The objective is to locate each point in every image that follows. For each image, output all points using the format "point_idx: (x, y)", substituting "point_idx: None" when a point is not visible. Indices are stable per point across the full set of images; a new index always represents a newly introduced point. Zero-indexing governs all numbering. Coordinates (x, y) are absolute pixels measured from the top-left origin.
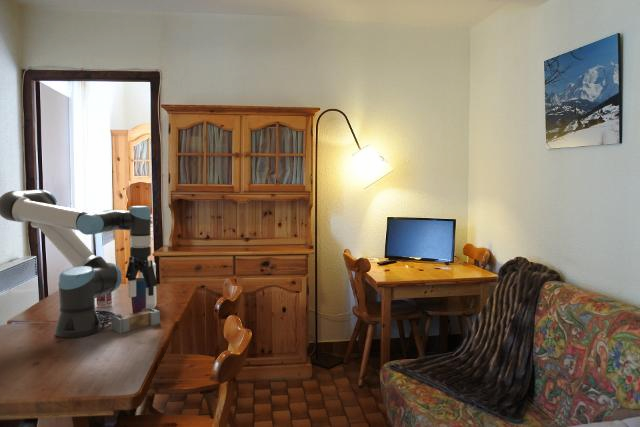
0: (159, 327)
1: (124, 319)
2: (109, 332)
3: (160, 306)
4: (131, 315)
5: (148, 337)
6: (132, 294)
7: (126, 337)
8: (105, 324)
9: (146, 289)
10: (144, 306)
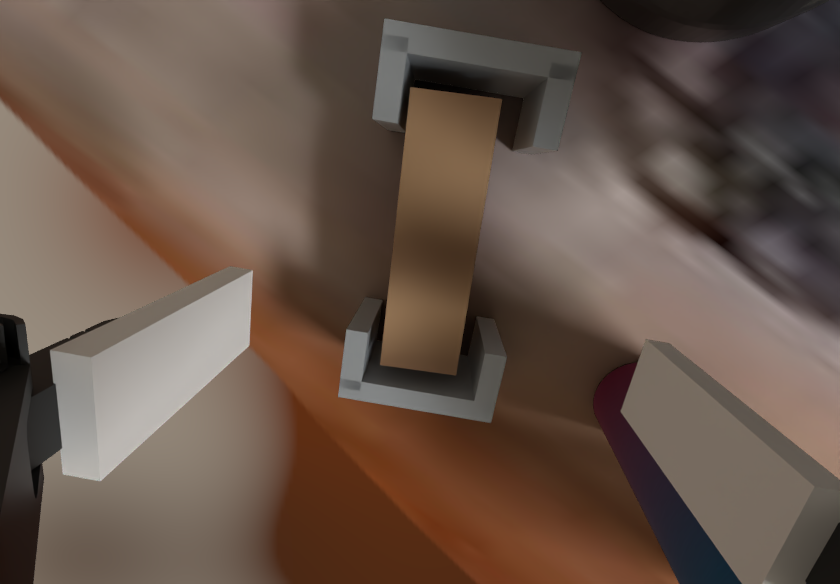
0: (292, 301)
1: (379, 70)
2: (481, 9)
3: (658, 578)
4: (437, 193)
5: (160, 120)
6: (648, 385)
7: (274, 18)
8: (679, 118)
9: (99, 336)
10: (614, 450)
